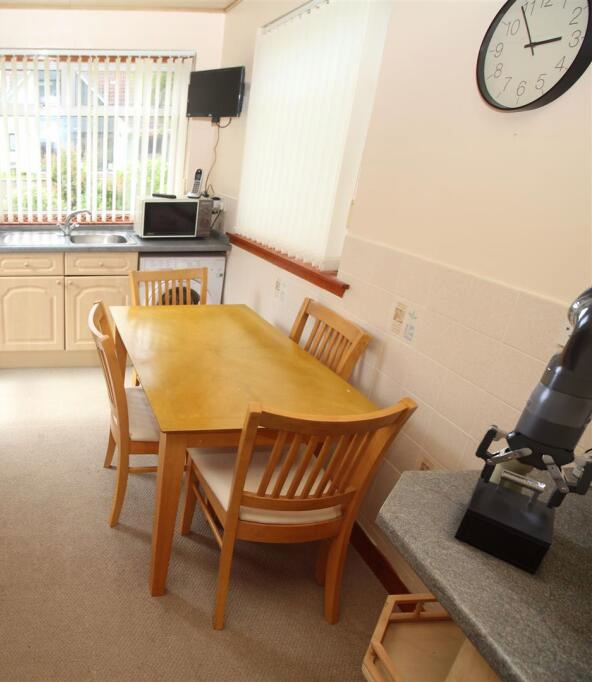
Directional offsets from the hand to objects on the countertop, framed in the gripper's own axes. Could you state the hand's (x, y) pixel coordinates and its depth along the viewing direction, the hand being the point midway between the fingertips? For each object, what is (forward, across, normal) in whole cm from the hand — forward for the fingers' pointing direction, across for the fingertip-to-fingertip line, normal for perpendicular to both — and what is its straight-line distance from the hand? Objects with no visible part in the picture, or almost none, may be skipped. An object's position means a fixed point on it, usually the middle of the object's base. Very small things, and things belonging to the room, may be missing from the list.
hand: (516, 493), depth 83 cm
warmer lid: (+2, 0, +3) cm, 4 cm away
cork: (+8, +1, -9) cm, 12 cm away
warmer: (+8, 0, +4) cm, 9 cm away
